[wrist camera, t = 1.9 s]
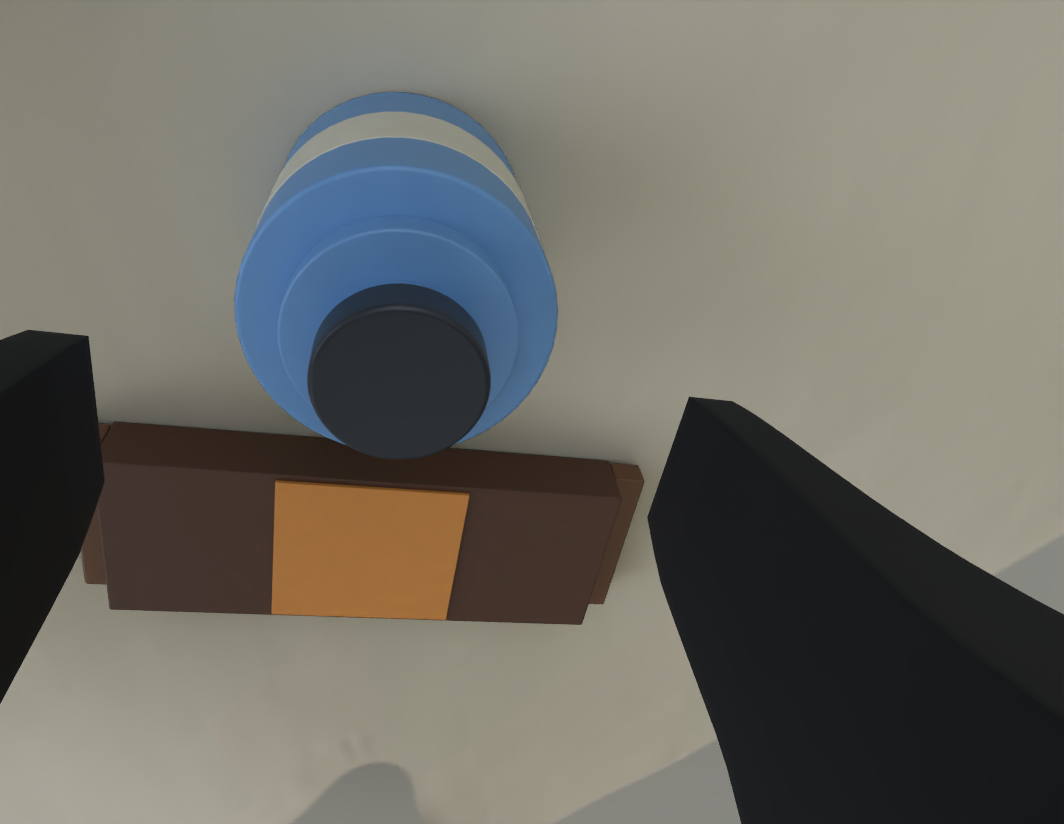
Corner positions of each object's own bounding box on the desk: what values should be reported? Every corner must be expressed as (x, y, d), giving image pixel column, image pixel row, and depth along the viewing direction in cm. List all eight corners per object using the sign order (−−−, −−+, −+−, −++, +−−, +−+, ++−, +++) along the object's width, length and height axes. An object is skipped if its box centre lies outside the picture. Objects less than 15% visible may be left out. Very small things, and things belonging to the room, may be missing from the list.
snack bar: (94, 562, 20) (71, 612, 19) (75, 417, 18) (47, 461, 17) (598, 584, 23) (610, 629, 22) (637, 462, 21) (654, 503, 20)
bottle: (399, 365, 18) (396, 577, 13) (222, 207, 16) (121, 382, 10) (568, 226, 17) (651, 394, 11) (405, 31, 15) (405, 119, 9)
